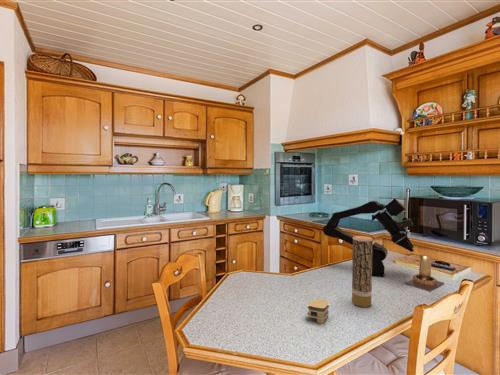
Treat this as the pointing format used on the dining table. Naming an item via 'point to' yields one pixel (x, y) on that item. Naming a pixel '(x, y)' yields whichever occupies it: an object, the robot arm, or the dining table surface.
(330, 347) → the dining table surface
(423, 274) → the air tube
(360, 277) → the bark covered log
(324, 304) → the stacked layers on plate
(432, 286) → the brown base plate
